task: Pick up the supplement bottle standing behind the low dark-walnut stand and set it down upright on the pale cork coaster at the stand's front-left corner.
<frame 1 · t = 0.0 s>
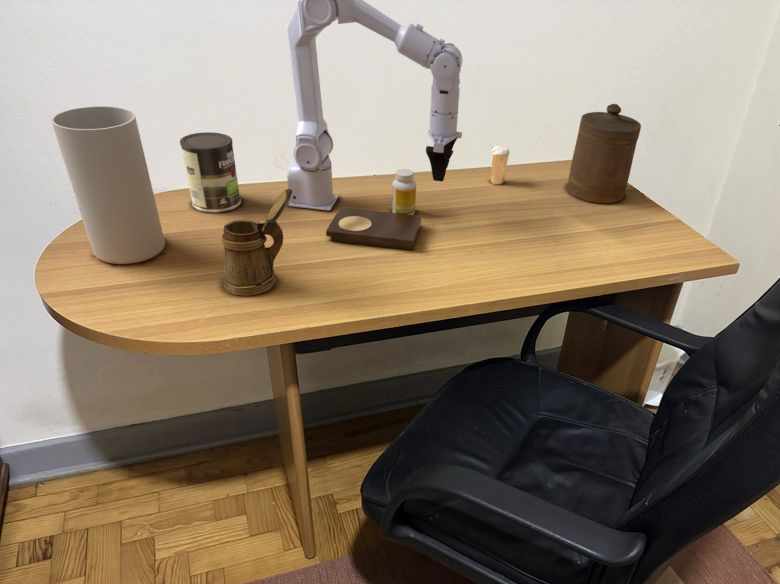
hand: (440, 173, 137), 10 cm above the table, tool pointing down, fingers open, 7 cm apart
cylinder vase: (130, 250, 120), on the table
wooden mug: (262, 283, 115), on the table
coffee can: (217, 203, 139), on the table
milkshake: (495, 182, 162), on the table
supplement bottle: (403, 213, 143), on the table
wooden container: (595, 192, 162), on the table
stand: (375, 233, 133), on the table
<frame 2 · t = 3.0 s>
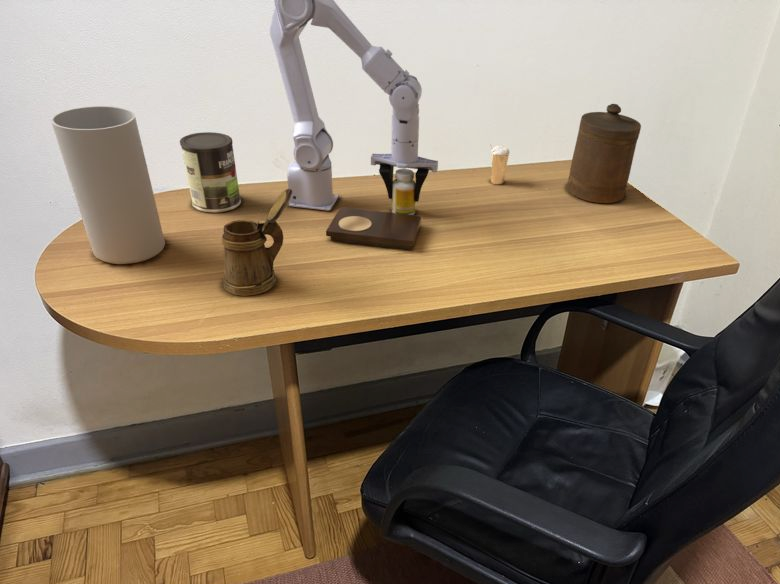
hand: (403, 198, 141), 3 cm above the table, tool pointing down, fingers closed on supplement bottle, 5 cm apart
supplement bottle: (403, 213, 143), on the table, touching gripper
everything else where it was.
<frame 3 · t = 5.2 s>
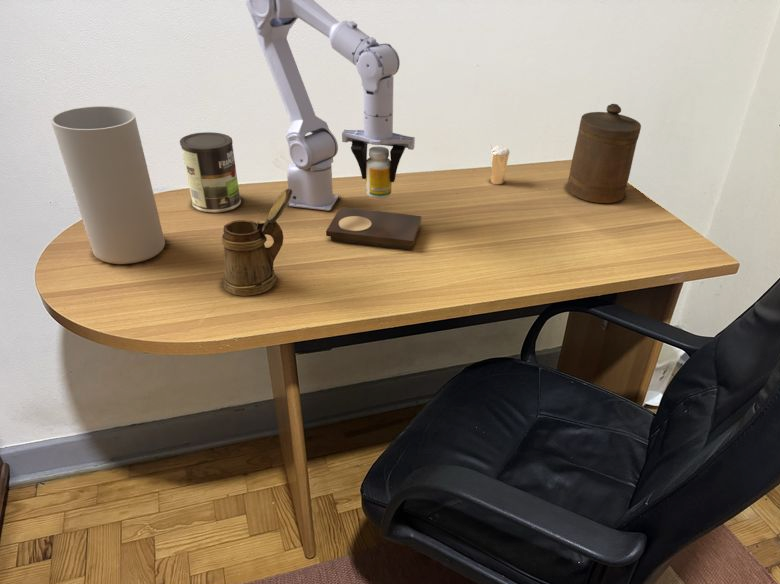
hand: (378, 178, 131), 10 cm above the table, tool pointing down, fingers closed on supplement bottle, 5 cm apart
supplement bottle: (378, 194, 133), point 7 cm above the table, touching gripper
everything else where it was.
when the fingers open (6 cm above the table, at t = 7.6 s): supplement bottle stays where it is, resting on stand.
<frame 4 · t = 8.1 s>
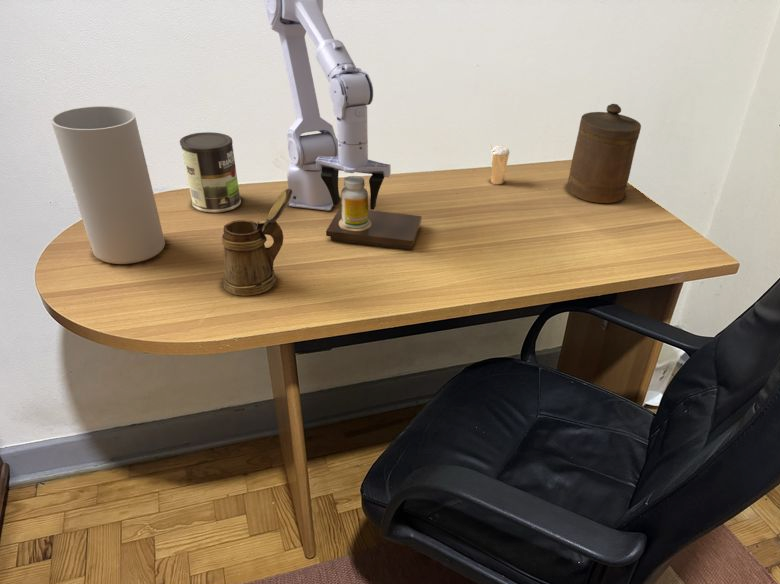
hand: (354, 205, 128), 7 cm above the table, tool pointing down, fingers open, 7 cm apart
supplement bottle: (355, 224, 131), point 3 cm above the table, touching stand
everything else where it was.
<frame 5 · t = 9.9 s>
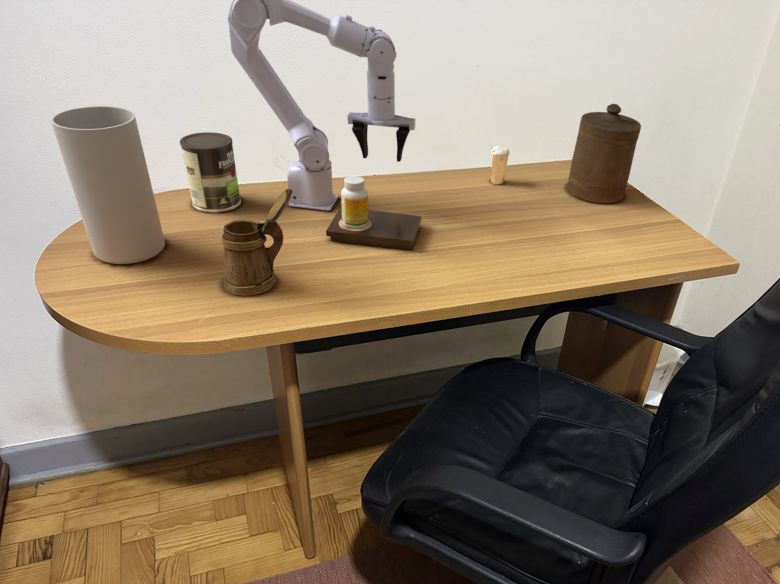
hand: (382, 158, 140), 10 cm above the table, tool pointing down, fingers open, 7 cm apart
nothing on the table moved.
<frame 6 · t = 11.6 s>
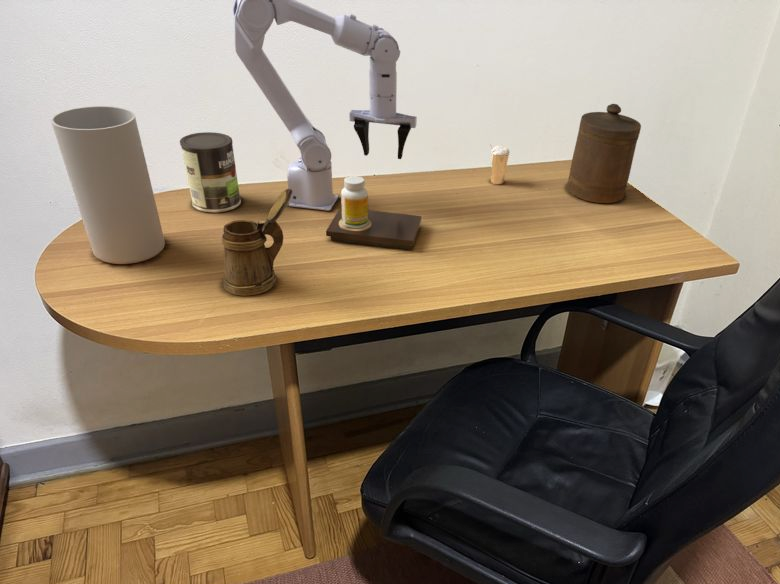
hand: (383, 155, 142), 10 cm above the table, tool pointing down, fingers open, 7 cm apart
nothing on the table moved.
at the end: supplement bottle inside the target area on the stand (0.7 cm from its centre), point 2.5 cm above the stand's base; supplement bottle tilted 0°; the gripper is holding nothing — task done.
